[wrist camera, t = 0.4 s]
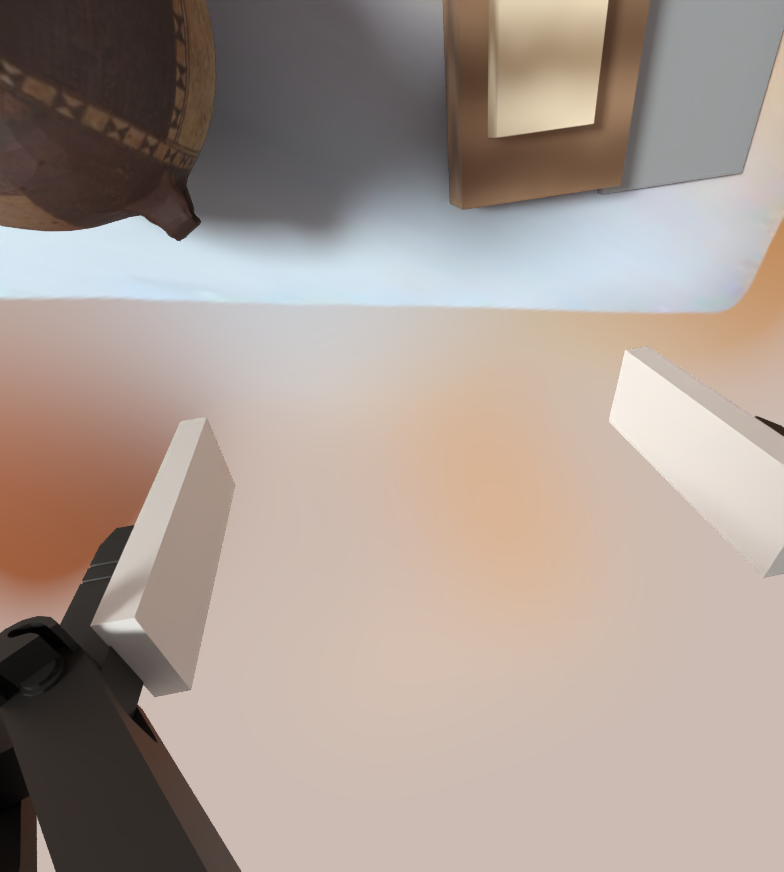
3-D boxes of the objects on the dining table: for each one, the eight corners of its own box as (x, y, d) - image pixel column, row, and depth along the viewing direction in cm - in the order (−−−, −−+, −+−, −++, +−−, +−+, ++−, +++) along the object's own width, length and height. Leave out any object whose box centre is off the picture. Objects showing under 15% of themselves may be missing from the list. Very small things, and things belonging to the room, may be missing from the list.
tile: (488, -38, 27) (500, -49, 26) (598, -52, 28) (615, -64, 26) (487, 137, 32) (496, 137, 31) (579, 124, 33) (593, 123, 31)
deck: (438, -116, 28) (454, -149, 25) (635, -138, 28) (677, -174, 25) (449, 203, 38) (462, 209, 35) (594, 181, 39) (620, 185, 35)
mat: (646, -163, 28) (652, -169, 27) (838, -185, 29) (847, -190, 28) (598, 193, 39) (602, 194, 39) (736, 172, 40) (741, 172, 40)
